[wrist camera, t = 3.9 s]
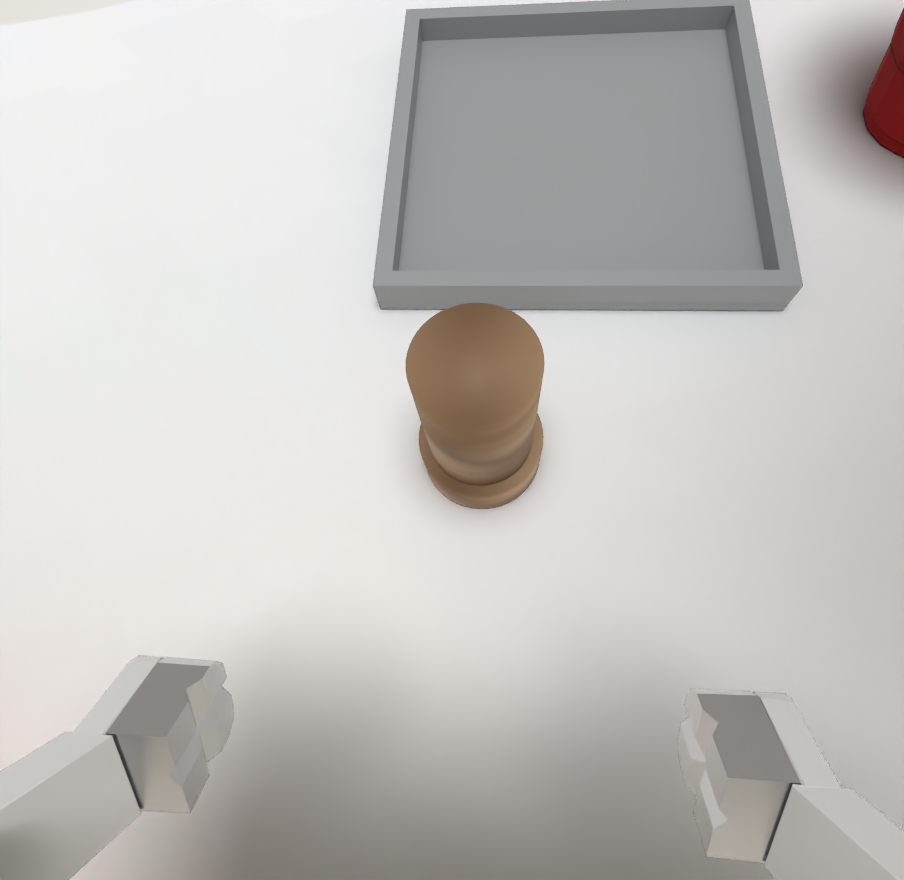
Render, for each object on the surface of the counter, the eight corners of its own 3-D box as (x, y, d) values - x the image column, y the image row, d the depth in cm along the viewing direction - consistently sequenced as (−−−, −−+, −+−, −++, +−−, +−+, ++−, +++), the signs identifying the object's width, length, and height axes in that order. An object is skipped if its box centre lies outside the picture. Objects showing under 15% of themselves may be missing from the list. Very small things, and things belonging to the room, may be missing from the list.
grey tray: (734, 29, 31) (748, -6, 30) (782, 310, 25) (803, 285, 24) (411, 42, 33) (406, 9, 31) (380, 308, 27) (372, 285, 25)
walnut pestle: (539, 401, 25) (557, 291, 17) (539, 511, 23) (559, 441, 15) (429, 399, 25) (399, 291, 18) (420, 506, 23) (384, 437, 16)
